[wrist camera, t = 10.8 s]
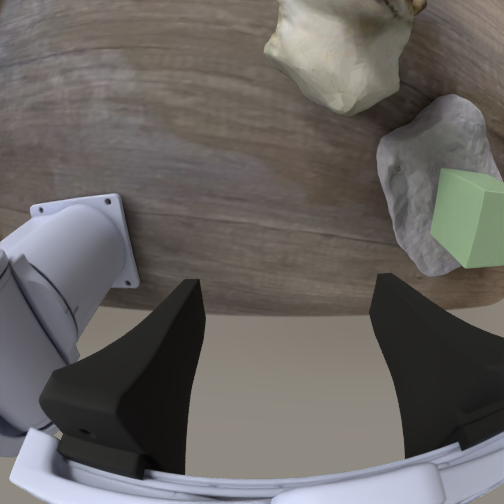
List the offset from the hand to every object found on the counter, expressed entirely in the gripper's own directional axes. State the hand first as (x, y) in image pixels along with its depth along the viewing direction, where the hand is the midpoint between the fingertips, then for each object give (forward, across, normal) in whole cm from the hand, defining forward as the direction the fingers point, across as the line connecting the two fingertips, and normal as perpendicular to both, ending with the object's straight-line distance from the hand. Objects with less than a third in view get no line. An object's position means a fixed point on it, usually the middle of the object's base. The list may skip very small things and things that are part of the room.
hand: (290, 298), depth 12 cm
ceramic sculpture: (+10, -4, -14) cm, 18 cm away
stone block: (+10, -12, -2) cm, 16 cm away
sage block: (+6, -12, -2) cm, 14 cm away
